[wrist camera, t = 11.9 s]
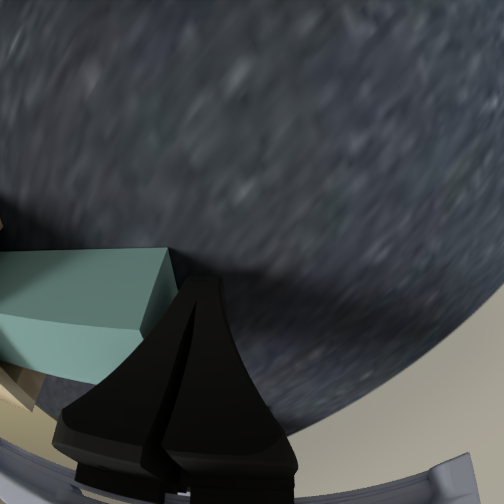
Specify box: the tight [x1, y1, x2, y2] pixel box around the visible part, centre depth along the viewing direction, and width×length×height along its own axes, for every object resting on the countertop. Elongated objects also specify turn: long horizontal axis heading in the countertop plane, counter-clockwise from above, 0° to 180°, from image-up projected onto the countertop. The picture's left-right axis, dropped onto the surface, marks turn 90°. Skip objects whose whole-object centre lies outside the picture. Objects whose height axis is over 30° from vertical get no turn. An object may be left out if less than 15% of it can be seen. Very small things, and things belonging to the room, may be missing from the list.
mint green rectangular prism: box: [0, 248, 178, 384], centre depth 11 cm, size 4×12×4 cm, turn 91°
